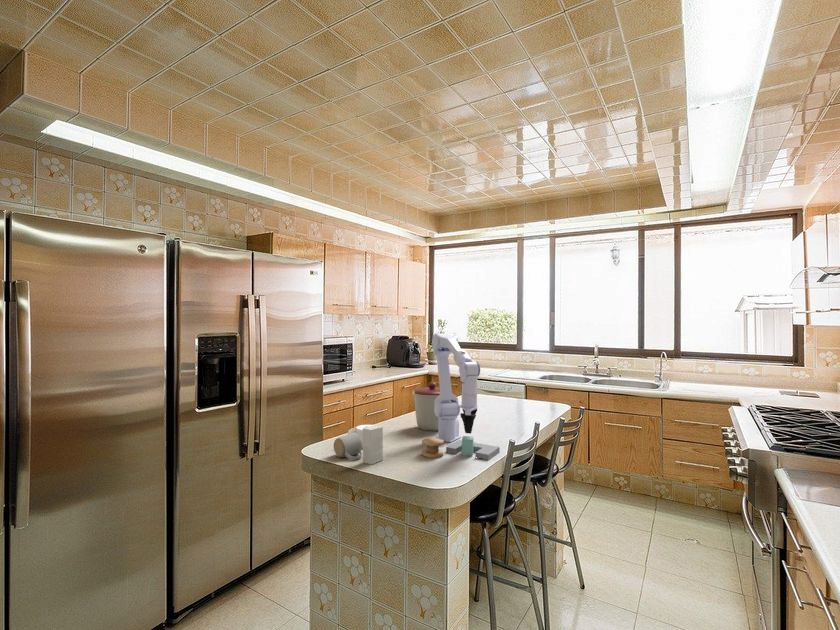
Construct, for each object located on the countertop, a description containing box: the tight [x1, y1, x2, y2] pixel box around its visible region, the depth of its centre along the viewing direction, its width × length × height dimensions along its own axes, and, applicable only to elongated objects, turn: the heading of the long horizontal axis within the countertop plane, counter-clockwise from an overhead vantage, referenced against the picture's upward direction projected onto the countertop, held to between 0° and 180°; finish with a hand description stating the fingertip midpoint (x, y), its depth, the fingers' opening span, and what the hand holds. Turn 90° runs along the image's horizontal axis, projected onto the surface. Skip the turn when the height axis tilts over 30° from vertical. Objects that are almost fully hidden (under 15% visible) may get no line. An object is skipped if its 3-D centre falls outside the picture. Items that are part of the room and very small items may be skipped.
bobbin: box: [421, 437, 445, 459], centre depth 160 cm, size 8×8×5 cm
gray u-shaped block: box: [445, 439, 501, 461], centre depth 163 cm, size 11×17×2 cm, turn 59°
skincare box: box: [362, 424, 384, 465], centre depth 152 cm, size 6×4×12 cm
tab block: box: [461, 435, 475, 456], centre depth 161 cm, size 4×4×6 cm
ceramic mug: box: [333, 433, 363, 461], centre depth 157 cm, size 11×8×8 cm
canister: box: [412, 381, 450, 432], centre depth 198 cm, size 18×18×21 cm
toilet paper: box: [347, 424, 374, 448], centre depth 171 cm, size 8×11×7 cm
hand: (468, 430), depth 161 cm, fingers open, 7 cm apart
